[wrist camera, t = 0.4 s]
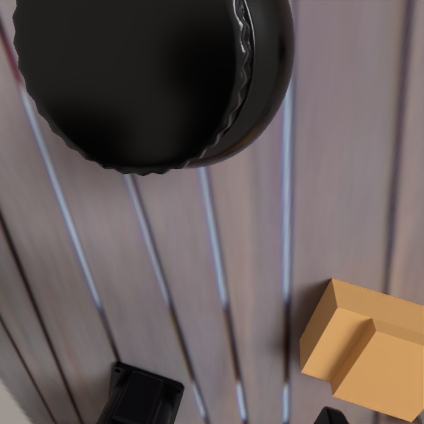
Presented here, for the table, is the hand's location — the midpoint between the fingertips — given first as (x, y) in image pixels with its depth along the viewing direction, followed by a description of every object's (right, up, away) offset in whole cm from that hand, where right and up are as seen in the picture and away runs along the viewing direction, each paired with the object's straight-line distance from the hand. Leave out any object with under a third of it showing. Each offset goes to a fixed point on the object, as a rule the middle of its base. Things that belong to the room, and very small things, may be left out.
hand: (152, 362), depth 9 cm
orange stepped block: (+12, -4, +14) cm, 19 cm away
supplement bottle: (+2, +12, +8) cm, 15 cm away
